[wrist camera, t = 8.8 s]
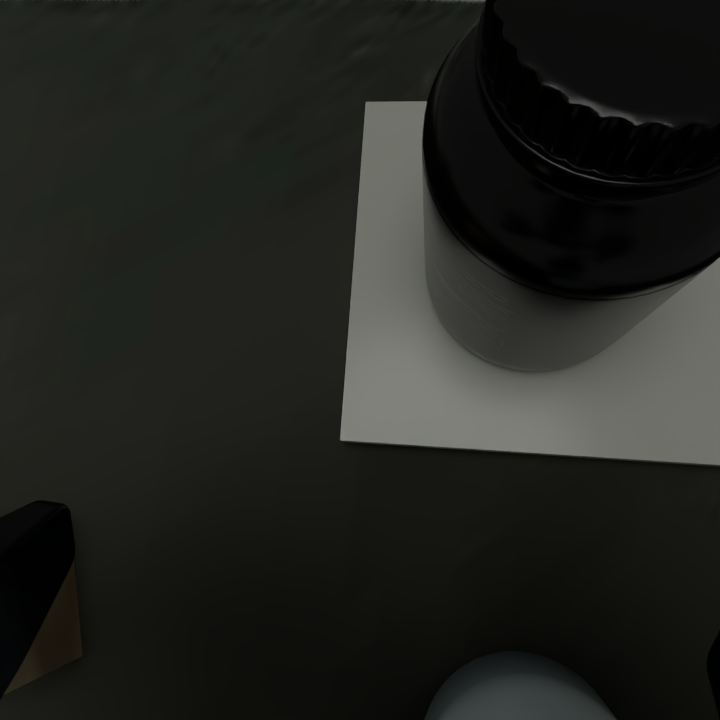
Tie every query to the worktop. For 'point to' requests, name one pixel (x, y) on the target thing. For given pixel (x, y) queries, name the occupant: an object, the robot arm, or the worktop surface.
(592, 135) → the supplement bottle
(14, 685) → the oak block
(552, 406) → the plate
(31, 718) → the worktop surface
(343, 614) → the worktop surface
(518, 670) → the blue-grey rounded cylinder
